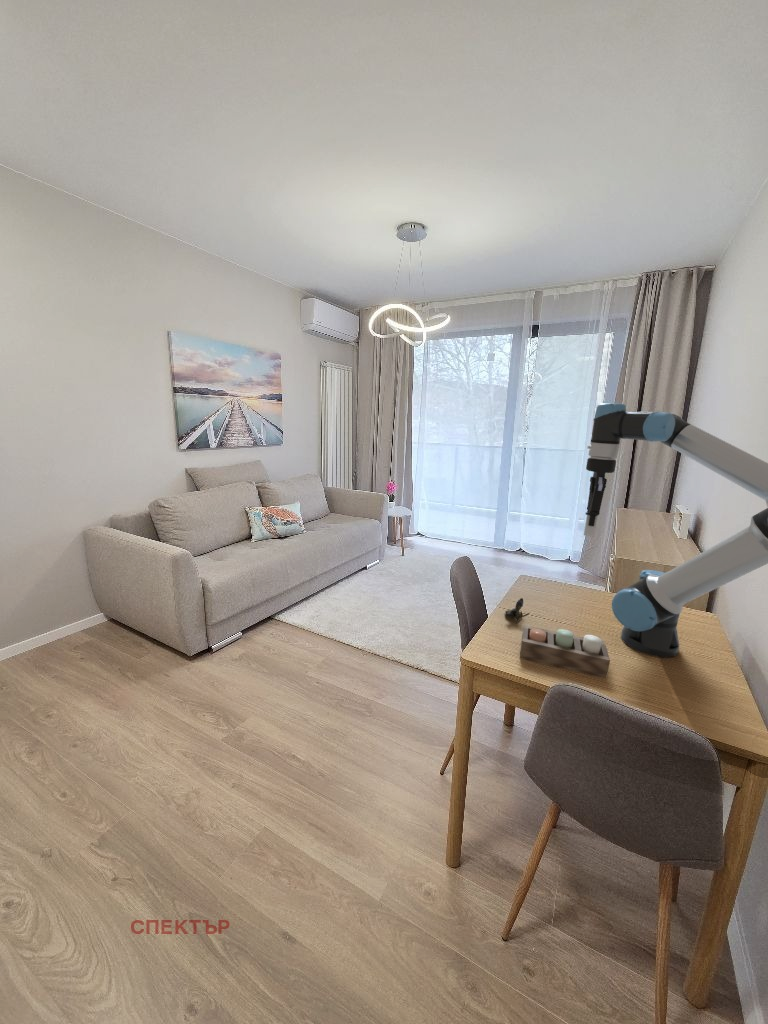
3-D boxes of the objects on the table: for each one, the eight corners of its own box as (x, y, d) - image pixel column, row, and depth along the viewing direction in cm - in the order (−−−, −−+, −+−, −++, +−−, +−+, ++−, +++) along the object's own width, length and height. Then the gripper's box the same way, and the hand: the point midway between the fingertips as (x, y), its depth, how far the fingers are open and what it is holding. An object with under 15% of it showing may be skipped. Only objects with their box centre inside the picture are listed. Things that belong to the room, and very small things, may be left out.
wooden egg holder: (601, 659, 119) (604, 641, 117) (606, 678, 109) (610, 660, 108) (521, 641, 126) (523, 624, 125) (519, 658, 117) (522, 641, 116)
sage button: (570, 647, 118) (573, 631, 117) (571, 654, 114) (574, 638, 113) (554, 643, 120) (556, 627, 119) (554, 651, 116) (557, 635, 115)
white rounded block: (597, 652, 116) (600, 636, 115) (599, 661, 112) (602, 644, 111) (580, 649, 117) (583, 633, 116) (581, 657, 113) (584, 640, 112)
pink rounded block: (543, 646, 121) (546, 630, 120) (543, 653, 117) (546, 637, 116) (528, 642, 122) (530, 627, 121) (527, 650, 118) (529, 634, 117)
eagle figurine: (534, 622, 136) (527, 605, 144) (525, 606, 134) (519, 590, 142) (512, 630, 138) (507, 613, 146) (503, 615, 136) (498, 599, 144)
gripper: (585, 455, 128) (573, 528, 133) (590, 458, 116) (577, 539, 121) (612, 457, 125) (599, 531, 131) (620, 461, 113) (605, 543, 119)
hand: (588, 535), depth 126 cm, fingers closed
